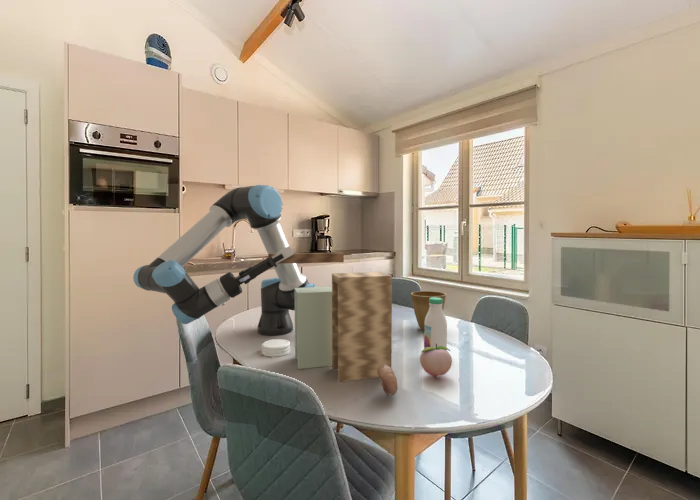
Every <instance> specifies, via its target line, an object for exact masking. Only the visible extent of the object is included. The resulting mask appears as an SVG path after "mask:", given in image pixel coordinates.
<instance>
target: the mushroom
mask: <svg viewBox="0 0 700 500" xmlns="http://www.w3.org/2000/svg"><path fill="white" fill-rule="evenodd" d="M377 372H378V375H379V377H378V378H379V379H380V380H381V388H382V390H383V392H384V394H386V396H394V395H395V394H396V393H397V392H398V388H399V387H398V380H397V377H396V375H395V371H394V370H393V368H392V366H391V367H389V366H388V365H381V366H379V367H378V369H377Z"/></svg>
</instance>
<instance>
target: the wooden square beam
mask: <svg viewBox="0 0 700 500" xmlns="http://www.w3.org/2000/svg"><path fill="white" fill-rule="evenodd" d="M276 254H277V253H275V254H269V256H268V257H269V258H272V256H274V255H276ZM344 255H345V254H344V252H300V253H299V252H294V254H293V255H291V256H290V257H288V258H286V259H285V260H283V261H281V262H279V263H278V264H280V263H297V264H317V263H318V264H324V263H326V264H327V263H329V264H330V263H344V262H345V261H344V259H345V258H344V257H345V256H344ZM272 259H273V258H272ZM275 264H276V263H275Z"/></svg>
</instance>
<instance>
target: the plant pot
mask: <svg viewBox="0 0 700 500" xmlns="http://www.w3.org/2000/svg"><path fill="white" fill-rule="evenodd" d="M410 296H411V301H412V302H411V303H412V307H413V312H414V315H415V318H416V322H417V324H418V327H419V329H420V331H422V332H424V322H425V317H426V315H427V313H428V311H429V307H430V305H429V298H432V297H438V298H442V299H443V303H442V304H443V305H442V310H443V311H444V307H445V305H446V304H445V303H446V298H447V297H446V296H447V293H445V292H441V291H433V290H431V291H430V290H421V291H420V290H419V291H413V292H411V293H410Z"/></svg>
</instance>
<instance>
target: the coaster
mask: <svg viewBox="0 0 700 500" xmlns="http://www.w3.org/2000/svg"><path fill="white" fill-rule="evenodd" d="M289 353H291V342H290V340H288V339H284V338H274V339H268V340H266V341H263V343H262V344H261V354H262V355H263V356H265V357H269V358H270V357H272V358H274V357H276V358H278V357H283V356H285V355H288V354H289Z"/></svg>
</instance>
